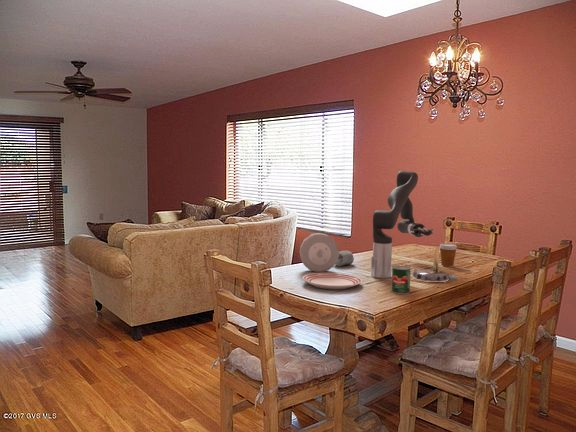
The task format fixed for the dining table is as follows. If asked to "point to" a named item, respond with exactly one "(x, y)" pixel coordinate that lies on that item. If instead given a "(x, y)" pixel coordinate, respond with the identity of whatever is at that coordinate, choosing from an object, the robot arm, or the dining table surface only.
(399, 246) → the dining table surface
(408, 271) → the canned tomato
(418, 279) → the sprocket base plate
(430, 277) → the sprocket
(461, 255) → the dining table surface
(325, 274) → the dinner plate
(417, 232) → the robot arm
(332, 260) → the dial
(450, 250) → the disposable coffee cup
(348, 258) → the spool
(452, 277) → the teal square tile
